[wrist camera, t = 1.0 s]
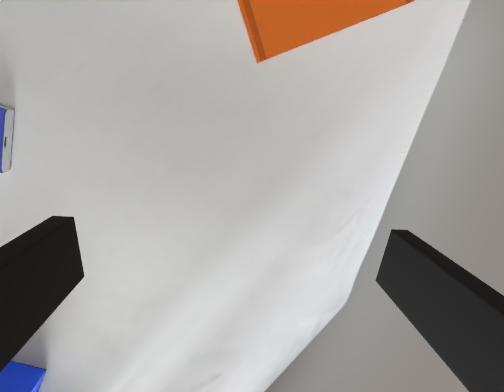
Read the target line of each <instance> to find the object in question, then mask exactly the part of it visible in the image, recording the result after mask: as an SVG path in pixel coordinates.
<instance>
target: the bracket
mask: <svg viewBox="0 0 504 392" xmlns="http://www.w3.org/2000/svg"><path fill="white" fill-rule="evenodd" d="M45 372H46V370H45V369H41V368H37V367H32V366H28V365H24V364H20V363H16V362H12V361H10V362H9V363H8V364H7V365H6V366H5V368H4V369H3V370H2V371H1V372H0V392H38V390H39V387H40V385H41V382H42V380H43V377H44V375H45Z"/></svg>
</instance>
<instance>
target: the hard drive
mask: <svg viewBox="0 0 504 392" xmlns="http://www.w3.org/2000/svg"><path fill="white" fill-rule="evenodd" d="M13 122H14V111H13V109H10V108H7V107H4V106H2V105H0V173H3V172H7V171H9V169H10V161H11V148H12V135H13Z"/></svg>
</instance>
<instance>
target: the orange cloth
mask: <svg viewBox="0 0 504 392" xmlns="http://www.w3.org/2000/svg"><path fill="white" fill-rule="evenodd" d="M412 1H414V0H238V2H239V6H240V9H241V12H242V15H243V18H244V22H245V25H246V28H247V31H248V34H249V38H250V41H251V44H252V47H253V51H254V54H255V57H256V60H257V63H258V62H260V61H263V60H265V59H268V58H270V57H273V56H276V55H278V54H281V53H283V52H286V51H288V50H291V49H293V48H296V47H298V46H301V45H303V44H306V43H308V42H311V41H313V40H316V39H319V38H321V37H324V36H326V35H329V34H331V33H334V32H336V31H339V30H341V29H344V28H346V27H349V26H351V25H354V24H357V23H359V22H362V21H364V20H367V19H369V18H372V17H374V16H377V15H379V14H382V13H384V12H387V11H389V10H392V9H395V8H397V7H400V6H402V5H405V4H407V3H410V2H412Z"/></svg>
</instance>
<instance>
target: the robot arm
mask: <svg viewBox="0 0 504 392" xmlns="http://www.w3.org/2000/svg"><path fill="white" fill-rule="evenodd" d="M83 277H84V272H83V266H82V260H81V255H80V249H79V244H78V238H77V232H76V227H75V221H74V217H63V216H52V217H50V218H48V219H47V220H45V221H43V222H42V223H40V224H38V225H37V226H35V227H33V228H32V229H30V230H28V231H27V232H25V233H23V234H22V235H20V236H18V237H17V238H15V239H13V240H12V241H10V242H8V243H7V244H5V245H3V246H2V247H0V372H1V371H2V370H3V369H4V368H5V366H6V365H7V364H8V363H9V362H10V361H11V360H12V358H13V357H14V356H15V355H16V354H17V353H18V352H19V350H20V349H21V348H22V347H23V346H24V345H25V344H26V342H27V341H28V340H29V339H30V338H31V337H32V336H33V334H34V333H35V332H36V331H37V330H38V329H39V328H40V326H41V325H42V324H43V323H44V322H45V321H46V320H47V318H48V317H49V316H50V315H51V314H52V313H53V312H54V310H55V309H56V308H57V307H58V306H59V305H60V304H61V302H62V301H63V300H64V299H65V298H66V297H67V296H68V294H69V293H70V292H71V291H72V290H73V289H74V288H75V286H76V285H77V284H78V283H79V282H80V281H81V280H82V278H83ZM376 281H377V283H378V284H379V285H380V286H381V288H382V289H383V290H384V291H385V292H386V293H387V295H388V296H389V297H390V298H391V299H392V301H393V302H394V303H395V304H396V305H397V306H398V308H399V309H400V310H401V311H402V312H403V314H404V315H405V316H406V317H407V318H408V320H409V321H410V322H411V323H412V324H413V325H414V326H415V328H416V329H417V330H418V331H419V332H420V334H421V335H422V336H423V337H424V338H425V340H426V341H427V342H428V343H429V344H430V346H431V347H432V348H433V349H434V350H435V352H436V353H437V354H438V355H439V356H440V357H441V359H442V360H443V361H444V362H445V363H446V365H447V366H448V367H449V368H450V369H451V370H452V372H453V373H454V374H455V375H456V376H457V378H458V379H459V380H460V381H461V382H462V384H463V385H464V386H465V387H466V388H467V389H468V391H469V392H504V296H503V295H502V294H500V293H499V292H497V291H496V290H494V289H493V288H491V287H490V286H488V285H487V284H486V283H484V282H482V281H481V280H480V279H478V278H477V277H475V276H474V275H472V274H471V273H469V272H468V271H467V270H465V269H464V268H462V267H461V266H459V265H458V264H456V263H455V262H453V261H452V260H450V259H449V258H448V257H446V256H444V255H443V254H442V253H440V252H439V251H437V250H436V249H434V248H433V247H432V246H430V245H429V244H427V243H426V242H424V241H423V240H421V239H420V238H418V237H417V236H415V235H414V234H413V233H411V232H409V231H408V230H393V229H392V230H391V233H390V236H389V239H388V243H387V246H386V249H385V252H384V256H383V259H382V262H381V265H380V268H379V272H378V275H377V278H376Z"/></svg>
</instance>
